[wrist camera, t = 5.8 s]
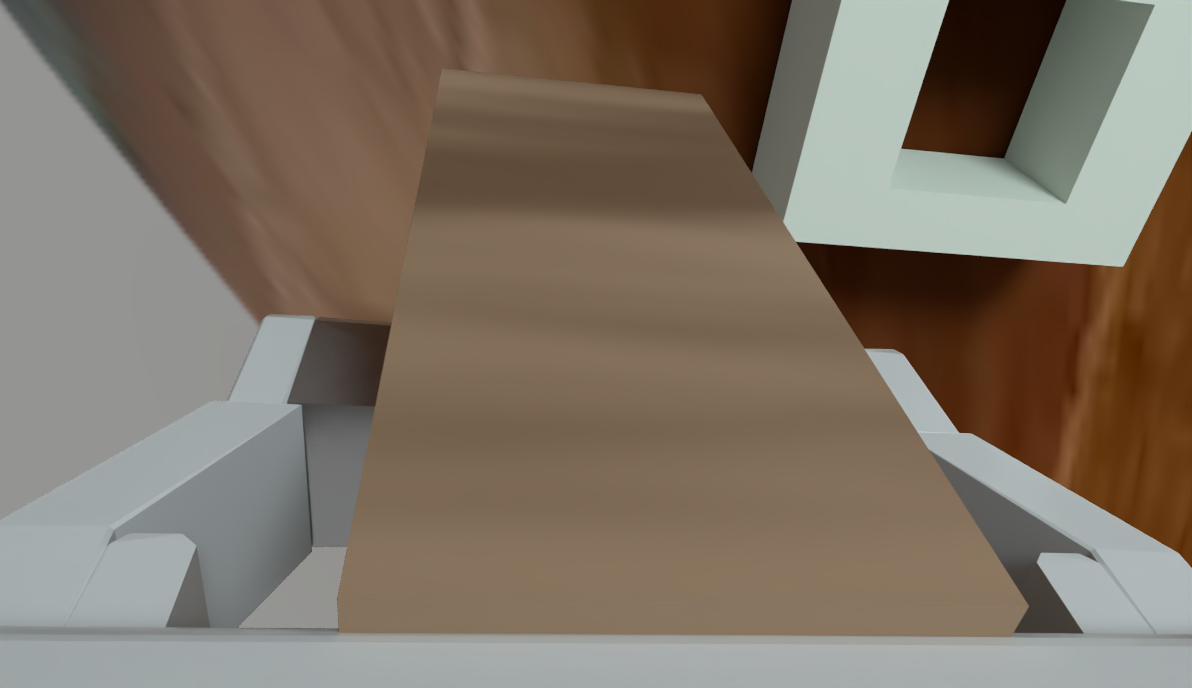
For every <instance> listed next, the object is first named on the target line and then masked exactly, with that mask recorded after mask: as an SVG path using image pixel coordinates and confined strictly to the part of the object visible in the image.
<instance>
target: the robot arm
mask: <svg viewBox="0 0 1192 688" xmlns="http://www.w3.org/2000/svg"><path fill="white" fill-rule="evenodd" d="M391 324H392V322H379V321H366V320H353V319H339V318H326V317H319V318H316V317H315V316H302V315H280V314H270V315H268V316H266V317H265V318H264V319H263V320H262V322H261V325H260V327H259V329H258V331H257V334H256V336H255V338H254V340H253V343H252V345H251V347H250V349H249V352H248V354H247V356H246V358H245V361H244V363H243V365H242V368H241V370H240V372H239V374H238V376H237V379H236V381H235V383H234V385H233V388H232V390H231V392H230V394H229V397H228V399H227V401H211V402H209V403H207V404H205V405H203V406H202V407H200V408H198V409H196V410H195V411H193V412H191V413H189V414H187V415H186V416H184V417H182V418H180V419H179V420H177V421H175V422H173V423H171V424H170V425H168V426H166V427H164V428H162V429H161V430H159V431H157V432H155V433H154V434H152V435H150V436H148V437H147V438H145V439H143V440H141V441H139V442H137V443H136V444H134V445H132V446H130V447H129V448H127V449H125V450H123V451H121V452H120V453H118V454H116V455H114V456H113V457H111V458H109V459H107V460H105V461H104V462H102V463H100V464H98V465H97V466H95V467H93V468H91V469H89V470H88V471H86V472H84V473H82V474H80V475H79V476H77V477H75V478H73V479H72V480H70V481H68V482H66V483H64V484H63V485H61V486H59V487H57V488H56V489H54V490H52V491H50V492H48V493H47V494H45V495H43V496H41V497H40V498H38V499H36V500H34V501H32V502H31V503H29V504H27V505H25V506H24V507H22V508H20V509H18V510H16V511H15V512H13V513H11V514H9V515H7V516H6V517H4V518H2V519H0V688H1192V568H1191V567H1190V566H1189V565H1188V563H1187V562H1186V561H1185V560H1184V559H1183V558H1182V557H1181V555H1180V554H1179V553H1177V552H1175V551H1174V550H1172V549H1170V548H1168V547H1167V546H1165V545H1163V544H1162V543H1160V542H1158V541H1156V540H1155V539H1153V538H1151V537H1149V536H1148V535H1146V534H1144V533H1143V532H1141V531H1139V530H1137V529H1136V528H1134V527H1132V526H1130V525H1129V524H1127V523H1125V522H1124V521H1122V520H1120V519H1118V518H1117V517H1115V516H1113V515H1111V514H1110V513H1108V512H1106V511H1104V510H1103V509H1101V508H1099V507H1098V506H1096V505H1094V504H1092V503H1091V502H1089V501H1087V500H1085V499H1084V498H1082V497H1080V496H1079V495H1077V494H1075V493H1073V492H1072V491H1070V490H1068V489H1066V488H1065V487H1063V486H1061V485H1060V484H1058V483H1056V482H1054V481H1053V480H1051V479H1049V478H1047V477H1046V476H1044V475H1042V474H1041V473H1039V472H1037V471H1035V470H1034V469H1032V468H1030V467H1028V466H1027V465H1025V464H1023V463H1022V462H1020V461H1018V460H1016V459H1015V458H1013V457H1011V456H1009V455H1008V454H1006V453H1004V452H1003V451H1001V450H999V449H997V448H996V447H994V446H992V445H990V444H989V443H987V442H985V441H984V440H982V439H980V438H978V437H977V436H975V435H973V434H967V433H959V432H958V431H957V430H956V428H955V427H954V425H953V424H952V423H951V421H950V420H949V418H948V417H947V415H946V414H945V413H944V411H943V410H942V408H941V407H940V406H939V404H938V403H937V401H936V400H935V399H934V397H933V396H932V394H931V393H930V392H929V390H928V389H927V387H926V386H925V384H924V383H923V382H922V380H921V379H920V377H919V376H918V375H917V373H916V372H915V370H914V369H913V368H912V366H911V365H910V363H909V362H908V360H907V359H906V358H905V356H904V355H903V354H902V353H900V352H898V351H896V350H894V349H865V351H866V352H867V354H868V355H869V357H870V359H871V360H872V362H873V363H874V365H875V366H876V368H877V369H878V371H879V373H880V374H881V376H882V377H883V379H884V380H885V382H886V384H887V385H888V387H889V388H890V390H891V391H892V393H893V394H894V396H895V398H896V399H897V401H898V402H899V404H900V405H901V407H902V409H903V410H904V412H905V413H906V415H907V416H908V418H909V419H910V421H911V423H912V424H913V426H914V427H915V429H916V430H917V432H918V434H919V435H920V437H921V438H922V440H923V441H924V443H925V444H926V446H927V448H928V449H929V451H930V452H931V454H932V455H933V457H934V458H935V460H936V462H937V463H938V465H939V466H940V468H941V469H942V471H943V473H944V474H945V476H946V477H947V479H948V480H949V482H950V483H951V485H952V487H953V488H954V490H955V491H956V493H957V494H958V496H959V498H960V499H961V501H962V502H963V504H964V505H965V507H966V508H967V510H968V512H969V513H970V515H971V516H972V518H973V519H974V521H975V522H976V524H977V526H978V527H979V529H980V530H981V532H982V533H983V535H984V537H985V538H986V540H987V541H988V543H989V544H990V546H991V547H992V549H993V551H994V552H995V554H996V555H997V557H998V558H999V560H1000V562H1001V563H1002V565H1003V566H1004V568H1005V569H1006V571H1007V572H1008V574H1009V576H1010V577H1011V579H1012V580H1013V582H1014V583H1015V585H1016V586H1017V588H1018V590H1019V591H1020V593H1021V594H1022V596H1023V597H1024V599H1025V601H1026V602H1027V604H1028V605H1029V607H1028V609H1027V611H1026V612H1025V614H1024V616H1023V617H1022V619H1021V621H1020V623H1019V624H1018V626H1017V628H1016V629H1015V631H1014V633H1013V634H1012V636H1011V637H959V636H806V635H623V634H433V633H339V629H325V628H323V629H321V628H317V629H316V628H237V627H238V626H239V625H240V624H241V623H242V622H243V621H244V620H245V619H246V618H247V617H248V616H249V615H250V614H251V613H252V612H253V611H254V610H255V609H256V608H257V607H258V606H259V605H260V604H261V603H262V602H263V601H264V600H265V599H266V598H267V597H268V596H269V595H270V594H271V593H272V592H273V591H274V589H276V587H277V586H278V585H279V584H280V583H281V582H282V581H283V580H284V579H285V578H286V577H287V576H288V575H289V574H290V573H291V572H292V571H293V570H294V569H295V568H296V567H297V566H298V565H299V564H300V563H301V562H302V561H303V560H304V559H305V558H306V557H307V556H308V555H309V554H310V553H311V552H312V547H347V546H348V541H349V536H350V531H351V526H352V521H353V516H354V511H355V506H356V501H357V496H358V491H359V486H360V481H361V476H362V471H363V465H364V460H365V455H366V450H367V445H368V440H369V435H370V430H371V425H372V420H373V415H374V410H375V405H376V400H377V395H378V390H379V385H380V380H381V375H382V370H383V365H384V359H385V354H386V349H387V344H388V339H389V334H390V329H391Z"/></svg>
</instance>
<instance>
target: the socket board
mask: <svg viewBox="0 0 1192 688" xmlns="http://www.w3.org/2000/svg"><path fill="white" fill-rule="evenodd" d="M948 2H949V0H792V3H791V7H790V12H789V16H788V20H787V24H786V29H785V33H784V37H783V41H782V46H781V50H780V54H779V59H778V63H777V67H776V71H775V76H774V80H773V84H772V89H771V93H770V97H769V101H768V106H767V110H766V114H765V118H764V123H763V127H762V131H761V136H760V140H759V144H758V148H757V153H756V157H755V161H754V166H753V170H752V174H753V176H754V177H755V179H756V181H757V182H758V184H759V185H760V187H761V188H762V190H763V192H764V193H765V195H766V196H767V198H768V199H769V201H770V202H771V204H772V206H773V207H774V209H775V210H776V212H777V213H778V215H779V216H780V218H781V220H782V221H783V223H784V224H785V226H786V227H787V229H788V231H789V232H790V234H791V235H792V237H793V238H794V240H795V241H796V242H807V243H820V244H833V245H846V246H859V247H872V248H885V249H898V250H911V251H924V252H937V253H950V254H963V255H976V256H989V257H1002V258H1015V259H1028V260H1041V261H1054V262H1067V263H1080V264H1093V265H1106V266H1119V267H1123V266H1124V264H1125V262H1126V260H1127V258H1128V256H1129V254H1130V252H1131V250H1132V248H1133V246H1134V244H1135V242H1136V240H1137V238H1138V236H1139V234H1140V232H1141V230H1142V228H1143V226H1144V224H1145V222H1146V220H1147V218H1148V216H1149V214H1150V212H1151V210H1152V208H1153V206H1154V204H1155V202H1156V200H1157V198H1158V197H1159V195H1160V193H1161V191H1162V189H1163V187H1164V185H1165V183H1166V181H1167V179H1168V177H1169V175H1170V173H1171V171H1172V169H1173V167H1174V165H1175V163H1176V161H1177V159H1178V157H1179V155H1180V153H1181V151H1182V149H1183V147H1184V145H1185V143H1186V141H1187V139H1188V137H1189V135H1190V133H1191V131H1192V0H1066V2H1065V5H1064V7H1063V10H1062V13H1061V15H1060V18H1059V20H1058V23H1057V25H1056V28H1055V30H1054V33H1053V35H1052V38H1051V40H1050V43H1049V46H1048V48H1047V51H1046V53H1045V56H1044V58H1043V61H1042V63H1041V66H1040V68H1039V71H1038V74H1037V76H1036V79H1035V81H1034V84H1033V86H1032V89H1031V91H1030V94H1029V96H1028V99H1027V101H1026V104H1025V107H1024V109H1023V112H1022V114H1021V117H1020V119H1019V122H1018V124H1017V127H1016V129H1015V132H1014V134H1013V137H1012V140H1011V142H1010V145H1009V147H1008V150H1007V152H1006V155H1005V157H1004V159H1003V158H993V157H982V156H972V155H961V154H951V153H940V152H930V151H919V150H909V149H901V147H902V143H903V140H904V137H905V134H906V131H907V128H908V125H909V122H910V119H911V116H912V113H913V110H914V107H915V104H916V100H917V97H918V94H919V91H920V88H921V85H922V82H923V79H924V76H925V73H926V70H927V67H928V64H929V60H930V57H931V54H932V51H933V48H934V45H935V42H936V39H937V36H938V33H939V30H940V27H941V24H942V21H943V17H944V14H945V11H946V8H947V5H948Z"/></svg>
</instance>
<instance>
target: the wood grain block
mask: <svg viewBox="0 0 1192 688" xmlns="http://www.w3.org/2000/svg"><path fill="white" fill-rule="evenodd" d="M337 604H338V625H339V633H433V634H623V635H806V636H959V637H1011V636H1012V634H1013V633H1014V631H1015V629H1016V628H1017V626H1018V624H1019V623H1020V621H1021V619H1022V617H1023V616H1024V614H1025V612H1026V611H1027V609H1028V607H1029V605H1028V604H1027V602H1026V601H1025V599H1024V597H1023V596H1022V594H1021V593H1020V591H1019V590H1018V588H1017V586H1016V585H1015V583H1014V582H1013V580H1012V579H1011V577H1010V576H1009V574H1008V572H1007V571H1006V569H1005V568H1004V566H1003V565H1002V563H1001V562H1000V560H999V558H998V557H997V555H996V554H995V552H994V551H993V549H992V547H991V546H990V544H989V543H988V541H987V540H986V538H985V537H984V535H983V533H982V532H981V530H980V529H979V527H978V526H977V524H976V522H975V521H974V519H973V518H972V516H971V515H970V513H969V512H968V510H967V508H966V507H965V505H964V504H963V502H962V501H961V499H960V498H959V496H958V494H957V493H956V491H955V490H954V488H953V487H952V485H951V483H950V482H949V480H948V479H947V477H946V476H945V474H944V473H943V471H942V469H941V468H940V466H939V465H938V463H937V462H936V460H935V458H934V457H933V455H932V454H931V452H930V451H929V449H928V448H927V446H926V444H925V443H924V441H923V440H922V438H921V437H920V435H919V434H918V432H917V430H916V429H915V427H914V426H913V424H912V423H911V421H910V419H909V418H908V416H907V415H906V413H905V412H904V410H903V409H902V407H901V405H900V404H899V402H898V401H897V399H896V398H895V396H894V394H893V393H892V391H891V390H890V388H889V387H888V385H887V384H886V382H885V380H884V379H883V377H882V376H881V374H880V373H879V371H878V369H877V368H876V366H875V365H874V363H873V362H872V360H871V359H870V357H869V355H868V354H867V352H866V351H865V349H864V348H863V346H862V345H861V343H860V341H859V340H858V338H857V337H856V335H855V334H854V332H853V330H852V329H851V327H850V326H849V324H848V323H847V321H846V320H845V318H844V316H843V315H842V313H841V312H840V310H839V309H838V307H837V305H836V304H835V302H834V301H833V299H832V298H831V296H830V295H829V293H828V291H827V290H826V288H825V287H824V285H823V284H822V282H821V281H820V279H819V277H818V276H817V274H816V273H815V271H814V270H813V268H812V266H811V265H810V263H809V262H808V260H807V259H806V257H805V256H804V254H803V252H802V251H801V249H800V248H799V246H798V245H797V243H796V241H795V240H794V238H793V237H792V235H791V234H790V232H789V231H788V229H787V227H786V226H785V224H784V223H783V221H782V220H781V218H780V216H779V215H778V213H777V212H776V210H775V209H774V207H773V206H772V204H771V202H770V201H769V199H768V198H767V196H766V195H765V193H764V192H763V190H762V188H761V187H760V185H759V184H758V182H757V181H756V179H755V177H754V176H753V174H752V173H751V171H750V170H749V168H748V167H747V165H746V163H745V162H744V160H743V159H742V157H741V156H740V154H739V152H738V151H737V149H736V148H735V146H734V145H733V143H732V142H731V140H730V138H729V137H728V135H727V134H726V132H725V131H724V129H723V128H722V126H721V124H720V123H719V121H718V120H717V118H716V117H715V115H714V113H713V112H712V110H711V109H710V107H709V106H708V104H707V103H706V101H705V99H704V98H703V96H702V95H701V94H691V93H681V92H671V91H661V90H651V89H641V88H632V87H622V86H612V85H602V84H592V83H582V82H572V81H562V80H552V79H542V78H532V77H523V76H513V75H503V74H493V73H483V72H473V71H463V70H453V69H443V68H442V72H441V77H440V82H439V87H438V92H437V97H436V102H435V107H434V112H433V117H432V122H431V127H430V132H429V137H428V142H427V147H426V152H425V158H424V163H423V168H422V173H421V178H420V183H419V188H418V193H417V198H416V203H415V208H414V213H413V218H412V223H411V228H410V233H409V238H408V243H407V248H406V253H405V258H404V264H403V269H402V274H401V279H400V284H399V289H398V294H397V299H396V304H395V309H394V314H393V319H392V324H391V329H390V334H389V339H388V344H387V349H386V354H385V359H384V365H383V370H382V375H381V380H380V385H379V390H378V395H377V400H376V405H375V410H374V415H373V420H372V425H371V430H370V435H369V440H368V445H367V450H366V455H365V460H364V465H363V471H362V476H361V481H360V486H359V491H358V496H357V501H356V506H355V511H354V516H353V521H352V526H351V531H350V536H349V541H348V546H347V552H346V556H345V561H344V566H343V572H342V577H341V582H340V587H339V592H338V597H337Z"/></svg>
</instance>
